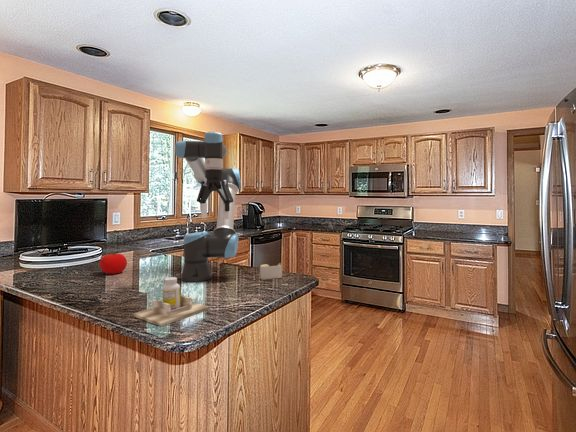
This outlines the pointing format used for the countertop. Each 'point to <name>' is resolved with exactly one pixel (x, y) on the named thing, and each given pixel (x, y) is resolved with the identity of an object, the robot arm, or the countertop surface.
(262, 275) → the model
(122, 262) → the tomato
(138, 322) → the countertop surface
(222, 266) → the countertop surface
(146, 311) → the bottle dock
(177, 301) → the supplement bottle
